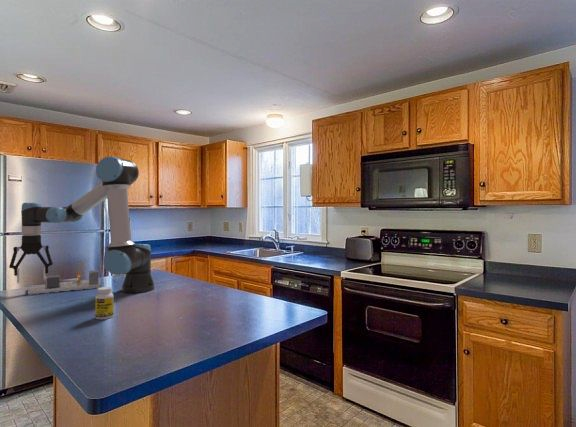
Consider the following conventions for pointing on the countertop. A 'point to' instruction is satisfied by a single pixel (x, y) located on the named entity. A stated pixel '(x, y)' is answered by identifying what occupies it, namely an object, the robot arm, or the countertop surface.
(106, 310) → the pill bottle
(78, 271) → the orange peg piece
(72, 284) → the gauge board
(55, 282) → the grey block with rod
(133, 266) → the robot arm
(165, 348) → the countertop surface
